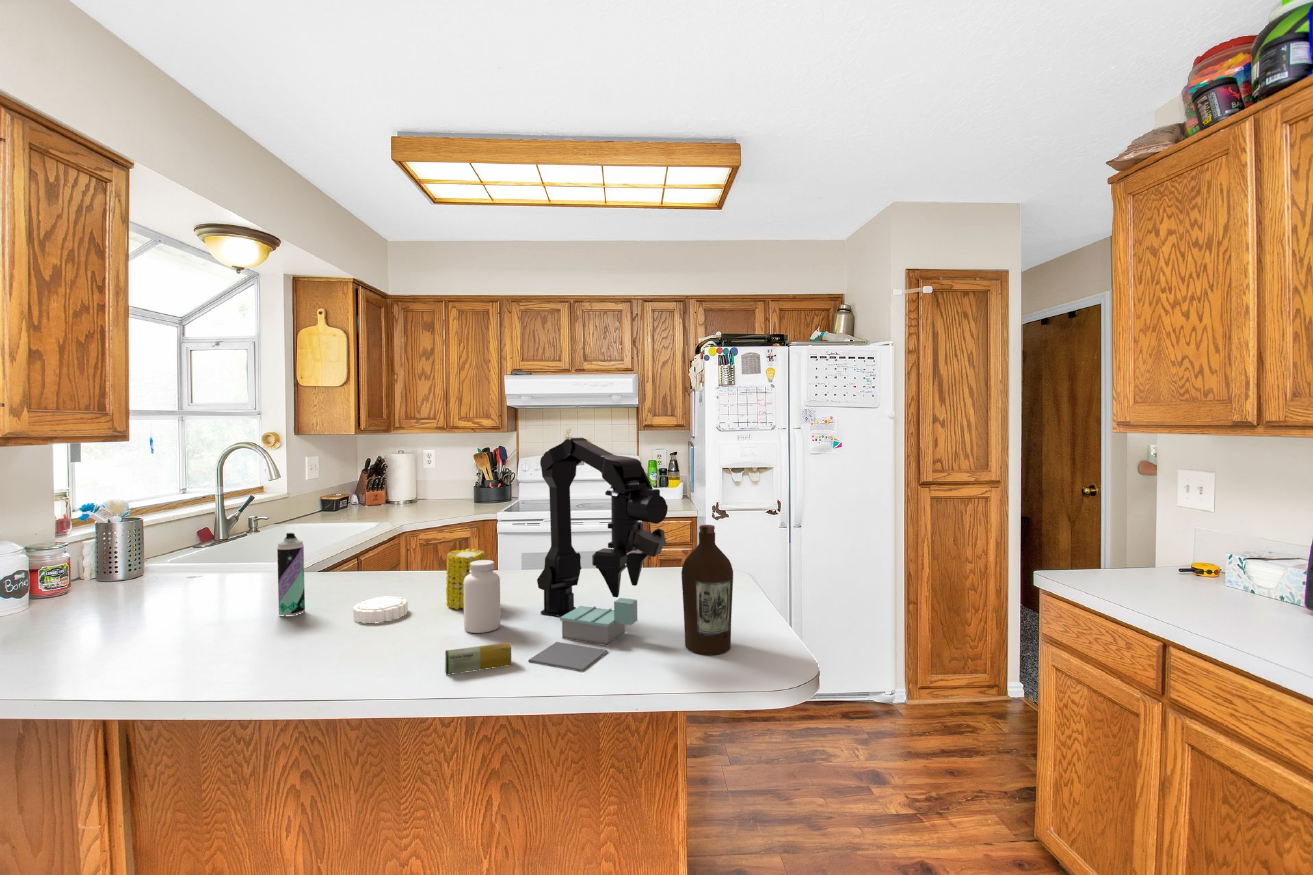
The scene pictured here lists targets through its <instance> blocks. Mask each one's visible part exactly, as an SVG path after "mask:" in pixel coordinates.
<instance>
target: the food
mask: <svg viewBox="0 0 1313 875" xmlns="http://www.w3.org/2000/svg"><path fill="white" fill-rule="evenodd" d="M478 560H486V552H485V551H484V550H481V549H477V548H472V549H471V548H466V549H461V550H458V549H457V550H456V549H455V550H451V551H450V552H448V553H447V556H446V574H445V575H446V577H445V579H446V587H445V593H446V594H445V595H446V599H445V600H446V606H447V607H448V608H450V609H455V610H456V611H457V610H460V608H461V609H462V610H464V579H465V577H466V576H467V575H469V574H471V573H470V563H471V562H473V561H478Z"/></svg>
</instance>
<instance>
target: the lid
mask: <svg viewBox="0 0 1313 875" xmlns="http://www.w3.org/2000/svg"><path fill="white" fill-rule="evenodd" d="M559 621H561V622H562V621H569V622H576V623H583V624H590V625H597V626H604V627H609V626H610V625H612V624H613V623H619V624H624V625H628V626H633V625H634V624H635V623H636V622H638V599H634V598H625V597H618V598H617V599H615V601H614V602H613V609H612V608H611V607H609V608H608V609H607V608H600V607H596V606H593V607H592V606H584V605H579V606H578V607H576V609H574V610H572V611H571V612H569V613H567V614H565V615H564V616H562V617H561V616H559Z"/></svg>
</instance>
